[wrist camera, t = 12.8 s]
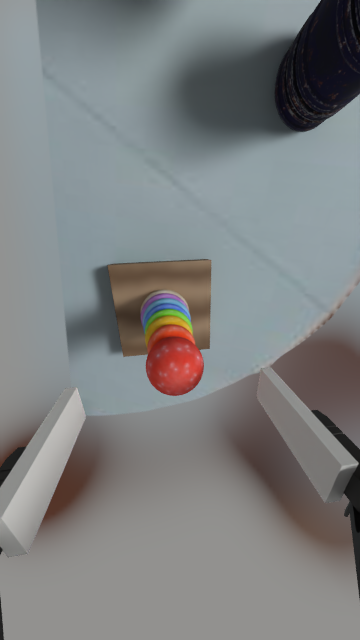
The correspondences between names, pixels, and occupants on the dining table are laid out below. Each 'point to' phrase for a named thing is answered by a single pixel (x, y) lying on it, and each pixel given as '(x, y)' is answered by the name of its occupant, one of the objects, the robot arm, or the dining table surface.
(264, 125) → the dining table surface
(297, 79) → the storage jar
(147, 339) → the stacking toy
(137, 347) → the walnut base
